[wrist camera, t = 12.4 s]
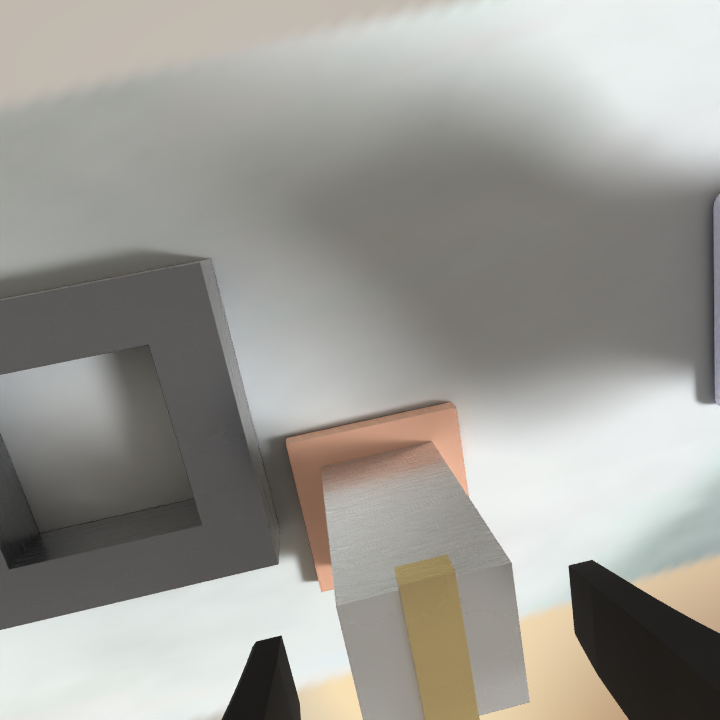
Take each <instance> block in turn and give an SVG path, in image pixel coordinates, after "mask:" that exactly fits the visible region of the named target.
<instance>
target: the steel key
mask: <svg viewBox="0 0 720 720" xmlns="http://www.w3.org/2000/svg"><path fill="white" fill-rule="evenodd" d="M321 475H322V484H323V493H324V502H325V511H326V520H327V529H328V538H329V547H330V556H331V565H332V574H333V583H334V592H335V601H336V608H337V612H338V616H339V620H340V625H341V629H342V633H343V637H344V641H345V646H346V650H347V654H348V658H349V662H350V667H351V671H352V675H353V679H354V683H355V687H356V691H357V696H358V700H359V704H360V708H361V713H362V717H363V720H479V716H480V715H484V714H488V713H491V712H495V711H499V710H503V709H506V708H510V707H514V706H517V705H521V704H525V703H528V702H530V701H529V694H528V687H527V679H526V671H525V663H524V655H523V648H522V640H521V632H520V625H519V617H518V609H517V602H516V594H515V586H514V579H513V571H512V563H511V561H510V560H509V558H508V557H507V555H506V553H505V552H504V550H503V549H502V547H501V546H500V544H499V543H498V541H497V540H496V538H495V537H494V535H493V534H492V532H491V531H490V529H489V527H488V526H487V524H486V523H485V521H484V520H483V518H482V517H481V515H480V514H479V512H478V511H477V509H476V508H475V506H474V505H473V503H472V501H471V500H470V498H469V497H468V495H467V494H466V492H465V491H464V489H463V488H462V486H461V485H460V483H459V482H458V480H457V479H456V477H455V475H454V474H453V472H452V471H451V469H450V468H449V466H448V465H447V463H446V462H445V460H444V459H443V457H442V456H441V454H440V453H439V451H438V449H437V448H436V446H435V445H434V443H433V442H432V441H430V442H426V443H421V444H417V445H413V446H408V447H404V448H399V449H395V450H391V451H386V452H382V453H378V454H373V455H369V456H364V457H360V458H356V459H351V460H347V461H342V462H338V463H334V464H329V465H325V466H321Z"/></svg>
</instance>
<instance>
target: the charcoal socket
mask: <svg viewBox="0 0 720 720" xmlns="http://www.w3.org/2000/svg"><path fill="white" fill-rule="evenodd" d="M145 345H149V348H150V351H151V354H152V358H153V361H154V364H155V368H156V371H157V374H158V378H159V381H160V385H161V388H162V391H163V395H164V398H165V401H166V405H167V408H168V411H169V415H170V418H171V421H172V425H173V428H174V432H175V435H176V438H177V442H178V445H179V448H180V452H181V455H182V458H183V462H184V465H185V469H186V472H187V475H188V479H189V482H190V485H191V489H192V492H193V495H194V499H191V500H187V501H182V502H178V503H173V504H169V505H164V506H160V507H156V508H151V509H147V510H142V511H138V512H133V513H129V514H124V515H120V516H115V517H111V518H107V519H102V520H98V521H93V522H89V523H84V524H80V525H75V526H71V527H67V528H62V529H58V530H53V531H49V532H44V533H40V534H39V532H38V529H37V526H36V524H35V521H34V519H33V516H32V514H31V511H30V509H29V506H28V503H27V501H26V498H25V496H24V493H23V491H22V488H21V486H20V483H19V480H18V478H17V475H16V473H15V470H14V468H13V465H12V463H11V460H10V458H9V455H8V452H7V450H6V447H5V445H4V442H3V440H2V437H1V435H0V630H2V629H7V628H11V627H15V626H19V625H23V624H28V623H32V622H36V621H40V620H45V619H49V618H53V617H57V616H61V615H66V614H70V613H74V612H78V611H83V610H87V609H91V608H95V607H100V606H104V605H108V604H112V603H116V602H121V601H125V600H129V599H133V598H138V597H142V596H146V595H150V594H155V593H159V592H163V591H167V590H171V589H176V588H180V587H184V586H188V585H193V584H197V583H201V582H205V581H210V580H214V579H218V578H222V577H226V576H231V575H235V574H239V573H243V572H248V571H252V570H256V569H260V568H265V567H269V566H273V565H277V564H279V544H280V528H279V524H278V520H277V517H276V513H275V509H274V505H273V501H272V497H271V493H270V489H269V485H268V481H267V477H266V473H265V469H264V465H263V462H262V458H261V454H260V450H259V446H258V442H257V438H256V434H255V430H254V426H253V422H252V418H251V414H250V410H249V406H248V403H247V399H246V395H245V391H244V387H243V383H242V379H241V375H240V371H239V367H238V363H237V359H236V355H235V351H234V348H233V344H232V340H231V336H230V332H229V328H228V324H227V320H226V316H225V312H224V308H223V304H222V300H221V296H220V293H219V289H218V285H217V281H216V277H215V273H214V269H213V265H212V261H211V259H205V260H200V261H195V262H190V263H185V264H179V265H174V266H169V267H164V268H159V269H153V270H148V271H143V272H138V273H133V274H127V275H122V276H117V277H112V278H107V279H101V280H96V281H91V282H86V283H81V284H75V285H70V286H65V287H60V288H55V289H49V290H44V291H39V292H34V293H29V294H23V295H18V296H13V297H8V298H3V299H0V375H1V374H6V373H11V372H16V371H21V370H26V369H31V368H36V367H41V366H46V365H51V364H56V363H61V362H65V361H70V360H75V359H80V358H85V357H90V356H95V355H100V354H105V353H110V352H115V351H120V350H125V349H130V348H135V347H140V346H145Z"/></svg>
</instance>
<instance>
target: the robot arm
mask: <svg viewBox="0 0 720 720" xmlns="http://www.w3.org/2000/svg"><path fill="white" fill-rule="evenodd" d="M714 344H715V400H716V403H717V404H718V405H720V194H719V195H718V196H717V198H716V200H715V202H714ZM569 576H570V587H571V597H572V608H573V619H574V630H575V634H576V636H577V638H578V640H579V642H580V644H581V646H582V647H583V649H584V651H585V653H586V655H587V657H588V659H589V660H590V662H591V664H592V666H593V667H594V669H595V671H596V673H597V674H598V676H599V677H600V679H601V680H602V682H603V683H604V685H605V686H606V687H607V689H608V690H609V692H610V693H611V695H612V696H613V698H614V699H615V700H616V702H617V703H618V705H619V706H620V708H621V709H622V710H623V712H624V713H625V715H626V716H627V717H628V719H629V720H720V633H718V632H716V631H714V630H712V629H710V628H708V627H706V626H704V625H702V624H700V623H699V622H696V621H695V620H693V619H691V618H689V617H687V616H686V615H684V614H682V613H680V612H678V611H677V610H675V609H673V608H671V607H669V606H668V605H666V604H664V603H663V602H661V601H659V600H657V599H656V598H654V597H652V596H651V595H649V594H647V593H646V592H644V591H642V590H641V589H639V588H637V587H636V586H634V585H632V584H631V583H629V582H627V581H626V580H624V579H623V578H621V577H619V576H618V575H616V574H614V573H613V572H611V571H610V570H608V569H606V568H605V567H603V566H601V565H600V564H598V563H596V562H595V561H593V560H590V561H586V562H582V563H578V564H573V565H569ZM222 720H301V716H300V702H299V699H298V695H297V691H296V687H295V684H294V680H293V676H292V673H291V669H290V665H289V662H288V658H287V654H286V650H285V647H284V643H283V639H282V636H278V637H273V638H269V639H265V640H261V641H257V642H256V643H255V644H254V646H253V647H252V650H251V653H250V655H249V658H248V660H247V663H246V666H245V668H244V670H243V673H242V675H241V678H240V680H239V682H238V685H237V687H236V689H235V692H234V694H233V696H232V698H231V701H230V703H229V705H228V707H227V709H226V711H225V713H224V716H223V718H222Z"/></svg>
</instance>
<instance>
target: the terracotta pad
mask: <svg viewBox="0 0 720 720" xmlns="http://www.w3.org/2000/svg"><path fill="white" fill-rule="evenodd" d="M430 441H432V442H433V443H434V445H435V446H436V448H437V449H438V451H439V453H440V454H441V456H442V457H443V459H444V460H445V462H446V463H447V465H448V466H449V468H450V469H451V471H452V472H453V474H454V475H455V477H456V479H457V480H458V482H459V483H460V485H461V486H462V488H463V489H464V491H465V492H466V494H467V495H468V497H469V494H468V487H467V481H466V474H465V467H464V460H463V453H462V446H461V439H460V432H459V425H458V418H457V411H456V407H455V406H454V405H453V404H452V402H448V403H443V404H439V405H434V406H430V407H425V408H421V409H416V410H412V411H407V412H402V413H398V414H393V415H389V416H384V417H380V418H375V419H370V420H366V421H361V422H357V423H352V424H348V425H343V426H339V427H334V428H329V429H325V430H320V431H316V432H311V433H307V434H302V435H297V436H293V437H288V438H286V447H287V451H288V455H289V459H290V463H291V468H292V472H293V476H294V480H295V484H296V488H297V493H298V497H299V501H300V505H301V509H302V514H303V518H304V522H305V526H306V530H307V534H308V539H309V543H310V547H311V551H312V555H313V559H314V564H315V568H316V572H317V576H318V580H319V585H320V589H321V592H324V591H328V590H332V589H334V583H333V574H332V565H331V556H330V547H329V538H328V529H327V520H326V511H325V502H324V493H323V484H322V475H321V466H325V465H329V464H334V463H338V462H342V461H347V460H351V459H356V458H360V457H364V456H369V455H373V454H378V453H382V452H386V451H391V450H395V449H399V448H404V447H408V446H413V445H417V444H421V443H426V442H430Z"/></svg>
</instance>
